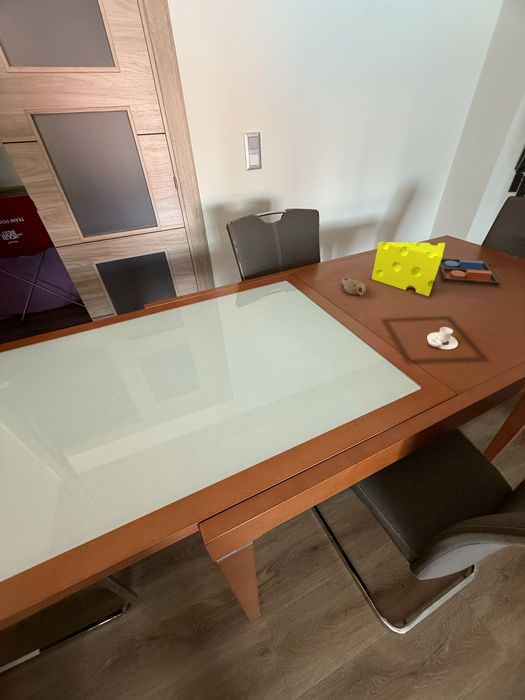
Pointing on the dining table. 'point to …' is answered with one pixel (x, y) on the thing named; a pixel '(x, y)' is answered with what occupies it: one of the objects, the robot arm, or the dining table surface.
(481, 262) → the blue spoon
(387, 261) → the cheese wedge
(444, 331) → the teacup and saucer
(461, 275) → the terracotta spoon
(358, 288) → the oil lamp
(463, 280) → the cutlery tray
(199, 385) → the dining table surface
